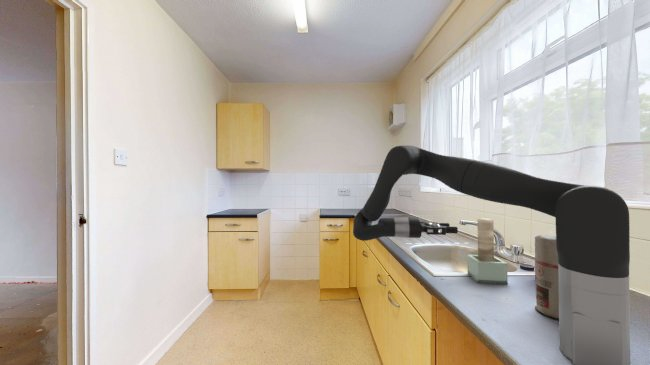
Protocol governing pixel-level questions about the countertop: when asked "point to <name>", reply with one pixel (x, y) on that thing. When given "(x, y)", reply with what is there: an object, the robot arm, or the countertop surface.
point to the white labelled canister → (547, 276)
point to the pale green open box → (487, 270)
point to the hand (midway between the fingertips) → (453, 227)
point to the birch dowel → (485, 240)
